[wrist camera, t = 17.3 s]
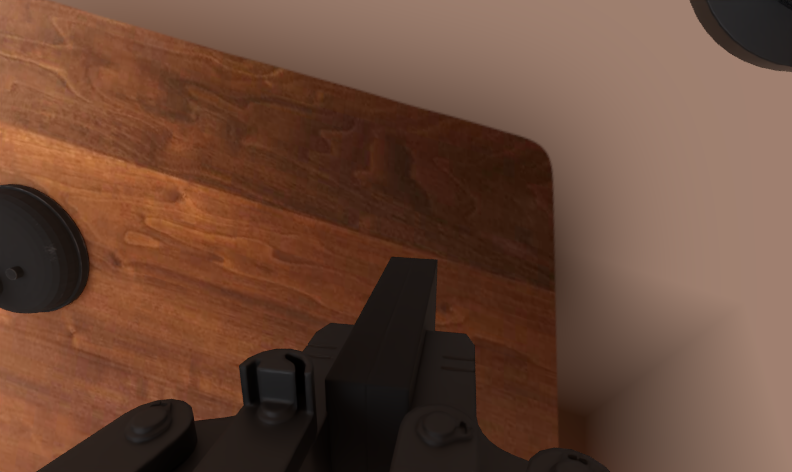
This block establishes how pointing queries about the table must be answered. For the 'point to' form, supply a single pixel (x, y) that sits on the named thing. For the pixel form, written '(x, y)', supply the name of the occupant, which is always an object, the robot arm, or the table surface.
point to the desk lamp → (38, 253)
